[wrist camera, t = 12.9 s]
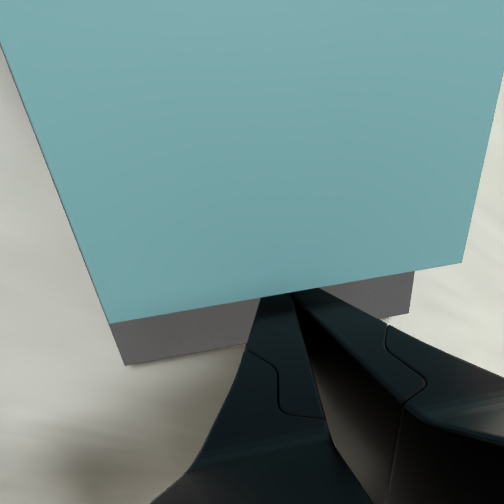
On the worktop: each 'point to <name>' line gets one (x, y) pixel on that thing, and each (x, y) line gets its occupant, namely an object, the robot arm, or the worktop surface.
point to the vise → (237, 316)
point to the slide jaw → (257, 138)
